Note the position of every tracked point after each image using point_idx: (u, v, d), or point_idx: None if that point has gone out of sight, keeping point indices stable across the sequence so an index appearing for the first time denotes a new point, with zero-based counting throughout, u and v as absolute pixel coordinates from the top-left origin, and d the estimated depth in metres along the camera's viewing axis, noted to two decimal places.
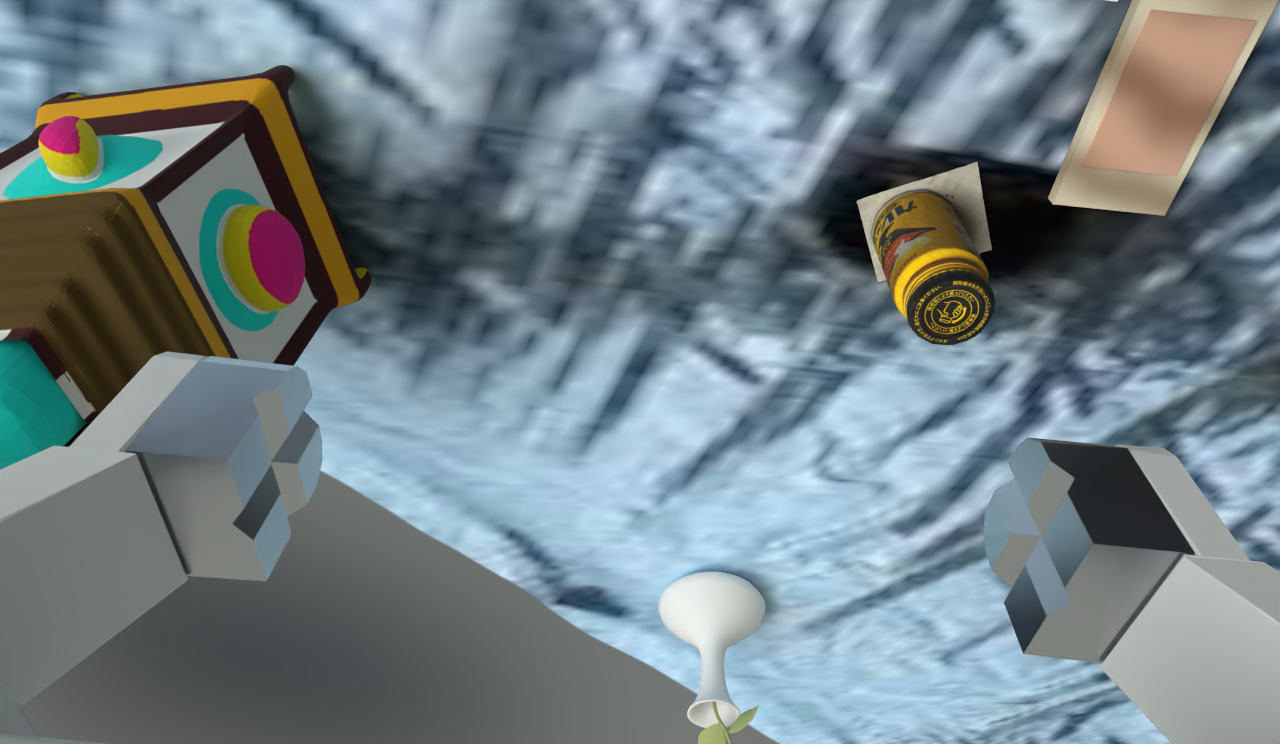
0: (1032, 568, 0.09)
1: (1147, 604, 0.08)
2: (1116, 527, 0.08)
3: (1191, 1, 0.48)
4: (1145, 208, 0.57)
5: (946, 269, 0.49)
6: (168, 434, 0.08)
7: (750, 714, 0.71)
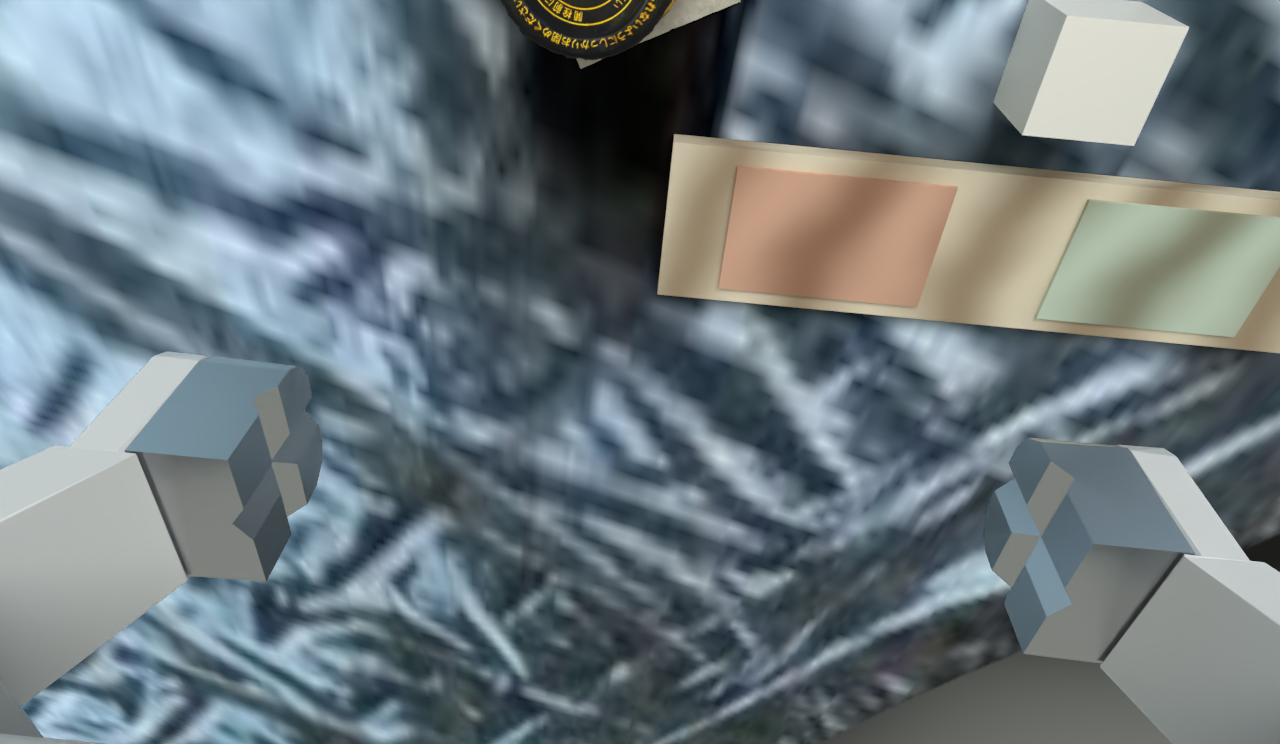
0: (1032, 568, 0.09)
1: (1147, 604, 0.08)
2: (1116, 527, 0.08)
3: (956, 231, 0.38)
4: (667, 268, 0.40)
5: None
6: (167, 435, 0.08)
7: None
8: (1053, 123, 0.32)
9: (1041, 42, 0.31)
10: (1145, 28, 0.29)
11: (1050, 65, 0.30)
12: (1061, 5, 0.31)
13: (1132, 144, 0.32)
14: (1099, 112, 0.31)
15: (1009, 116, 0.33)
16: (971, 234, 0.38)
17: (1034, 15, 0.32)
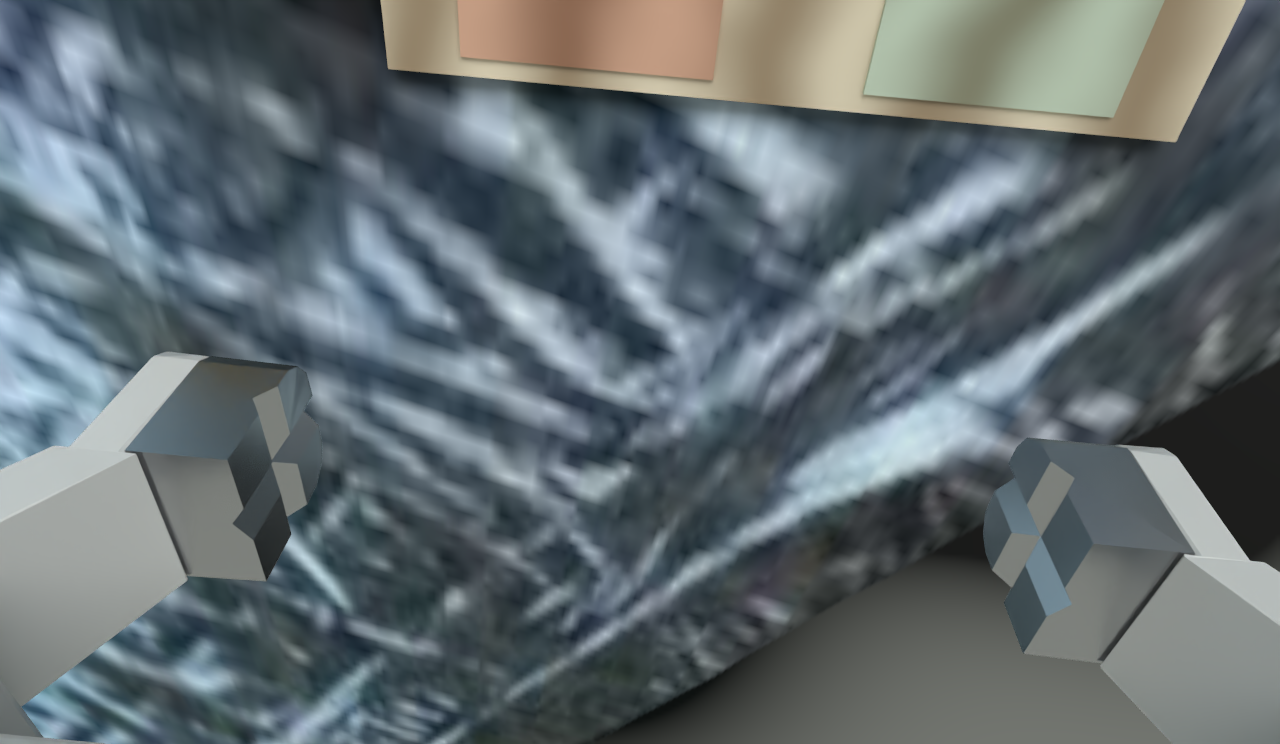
0: (1032, 568, 0.09)
1: (1147, 603, 0.08)
2: (1116, 527, 0.08)
3: None
4: (393, 29, 0.31)
5: None
6: (168, 435, 0.08)
7: None
8: None
9: None
10: None
11: None
12: None
13: None
14: None
15: None
16: None
17: None
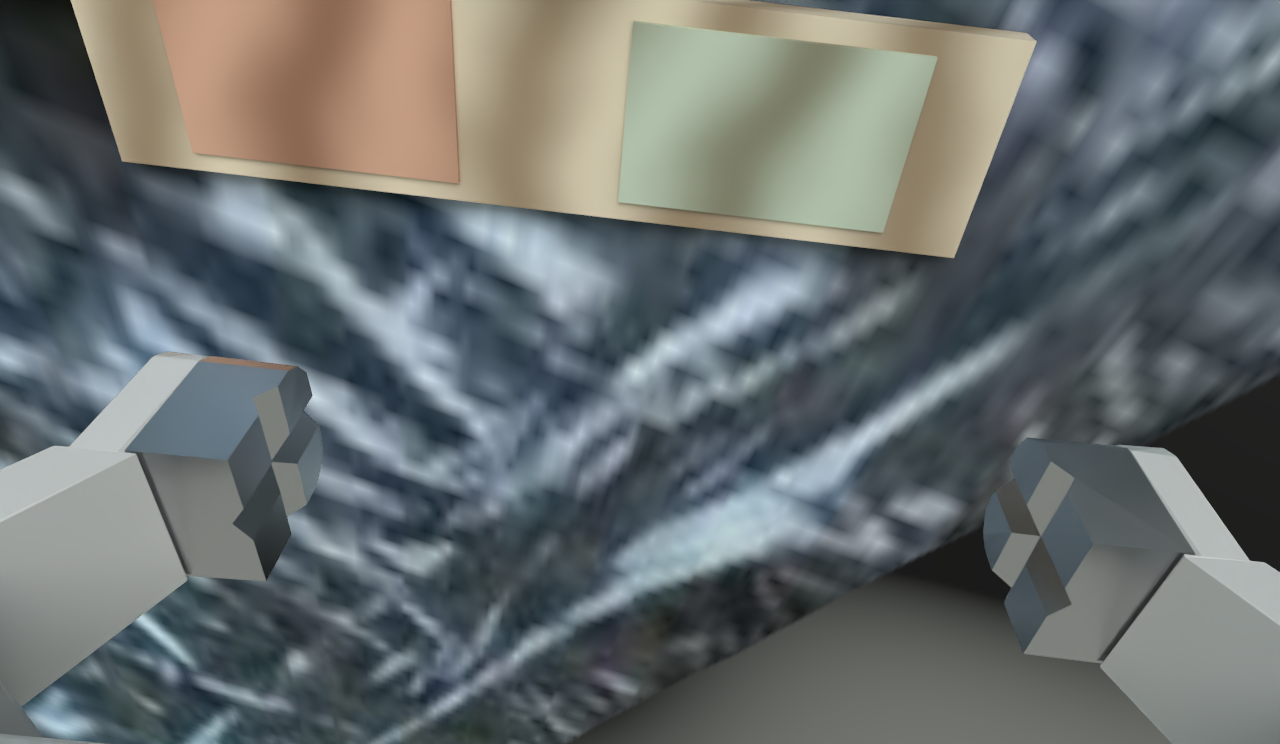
0: (1032, 568, 0.09)
1: (1148, 604, 0.08)
2: (1116, 527, 0.08)
3: (474, 69, 0.28)
4: (119, 122, 0.30)
5: None
6: (167, 435, 0.08)
7: None
8: None
9: None
10: None
11: None
12: None
13: None
14: None
15: None
16: (496, 75, 0.28)
17: None
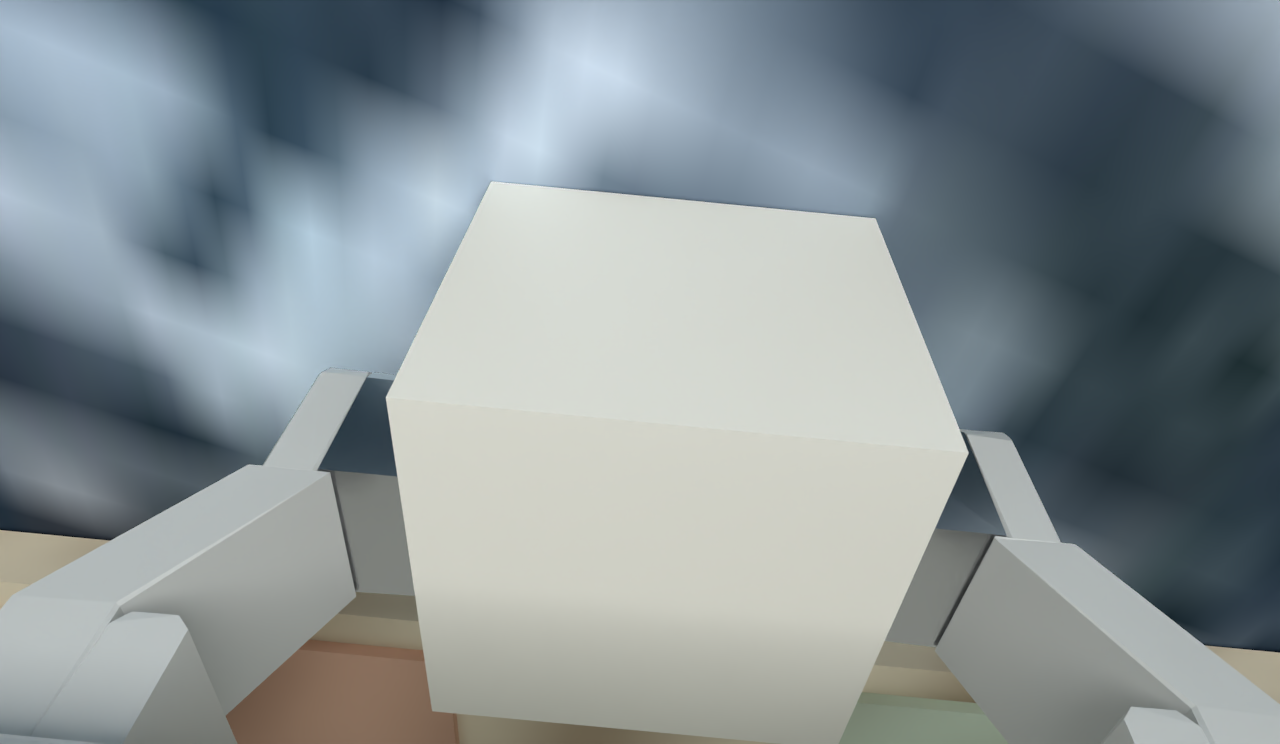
0: None
1: (968, 587, 0.08)
2: None
3: (494, 725, 0.15)
4: None
5: None
6: (356, 454, 0.08)
7: None
8: (523, 692, 0.09)
9: None
10: (765, 450, 0.06)
11: (415, 550, 0.07)
12: (485, 287, 0.07)
13: None
14: (679, 676, 0.08)
15: None
16: (535, 732, 0.15)
17: None
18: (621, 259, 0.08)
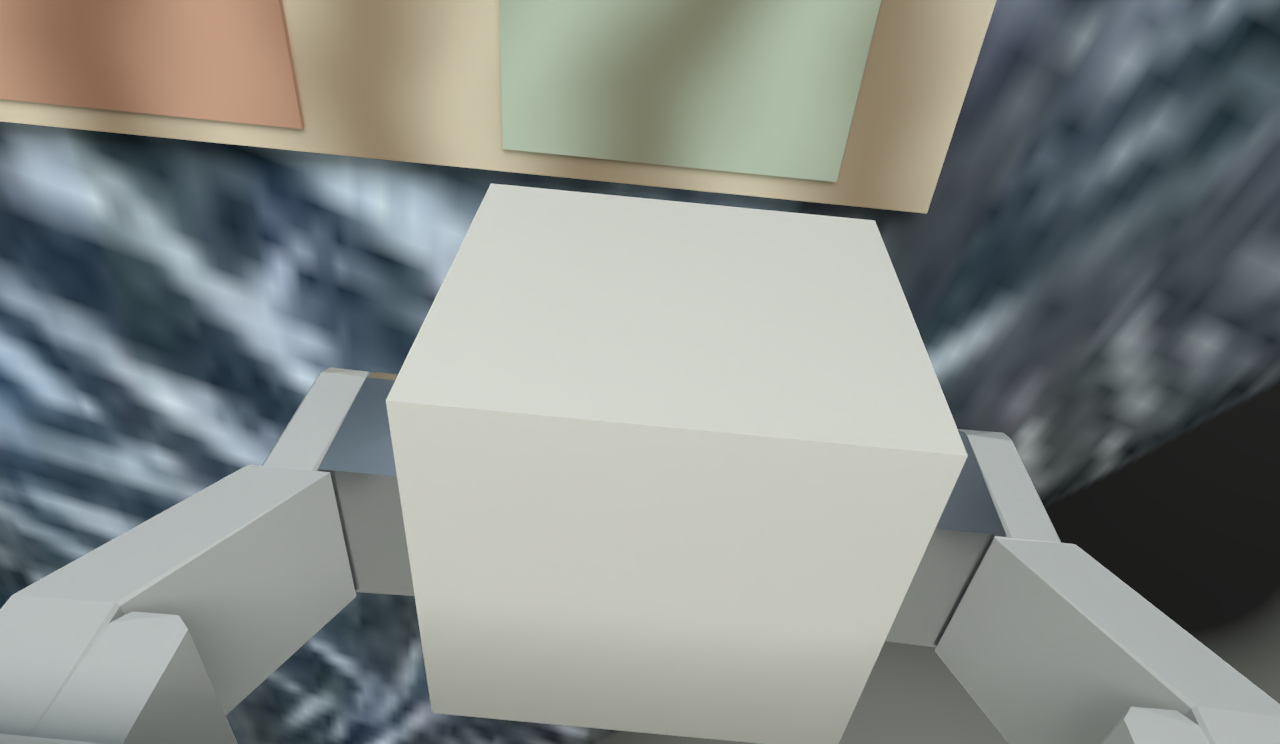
0: None
1: (968, 587, 0.08)
2: None
3: None
4: None
5: None
6: (356, 453, 0.08)
7: None
8: (523, 694, 0.09)
9: None
10: (764, 452, 0.06)
11: (414, 552, 0.07)
12: (485, 290, 0.07)
13: None
14: (678, 677, 0.08)
15: None
16: None
17: None
18: (621, 261, 0.08)
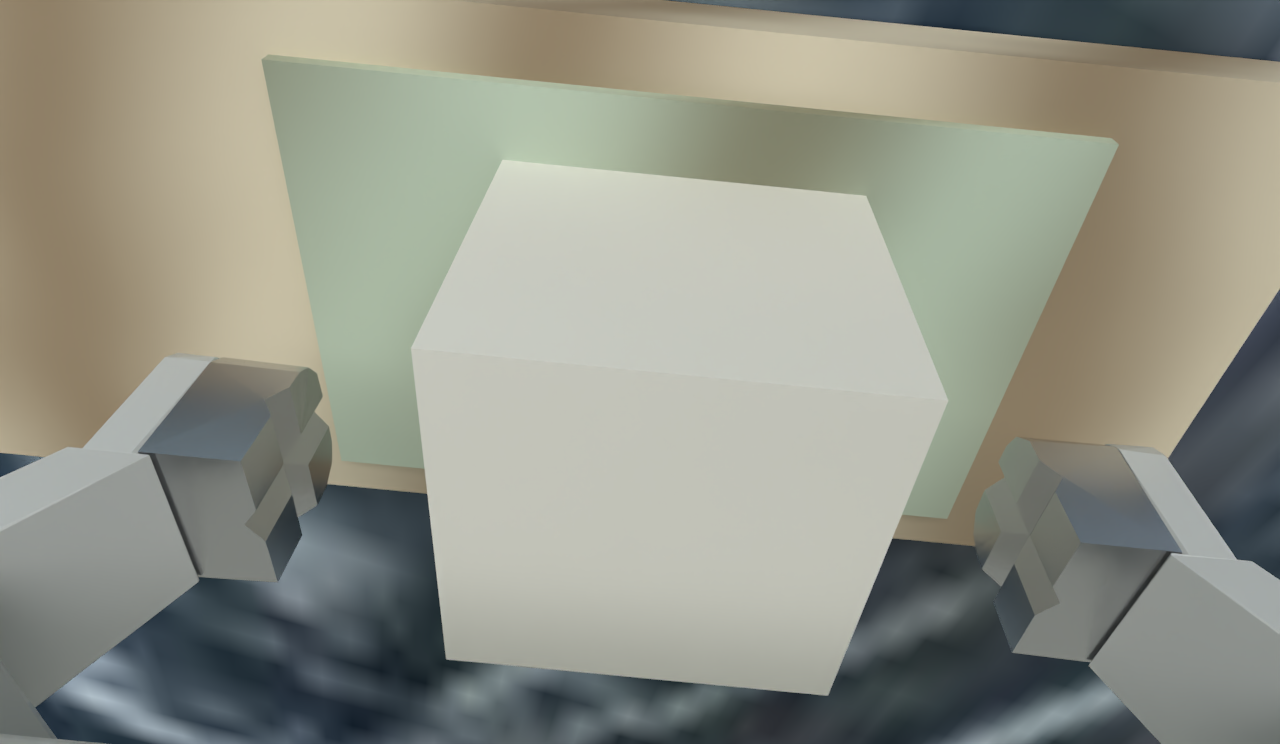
0: (1021, 567, 0.09)
1: (1134, 603, 0.08)
2: (1104, 526, 0.08)
3: None
4: None
5: None
6: (180, 437, 0.08)
7: None
8: (533, 639, 0.09)
9: None
10: (761, 398, 0.07)
11: (434, 497, 0.08)
12: (500, 254, 0.08)
13: (821, 692, 0.09)
14: (679, 622, 0.09)
15: None
16: None
17: None
18: (626, 230, 0.09)
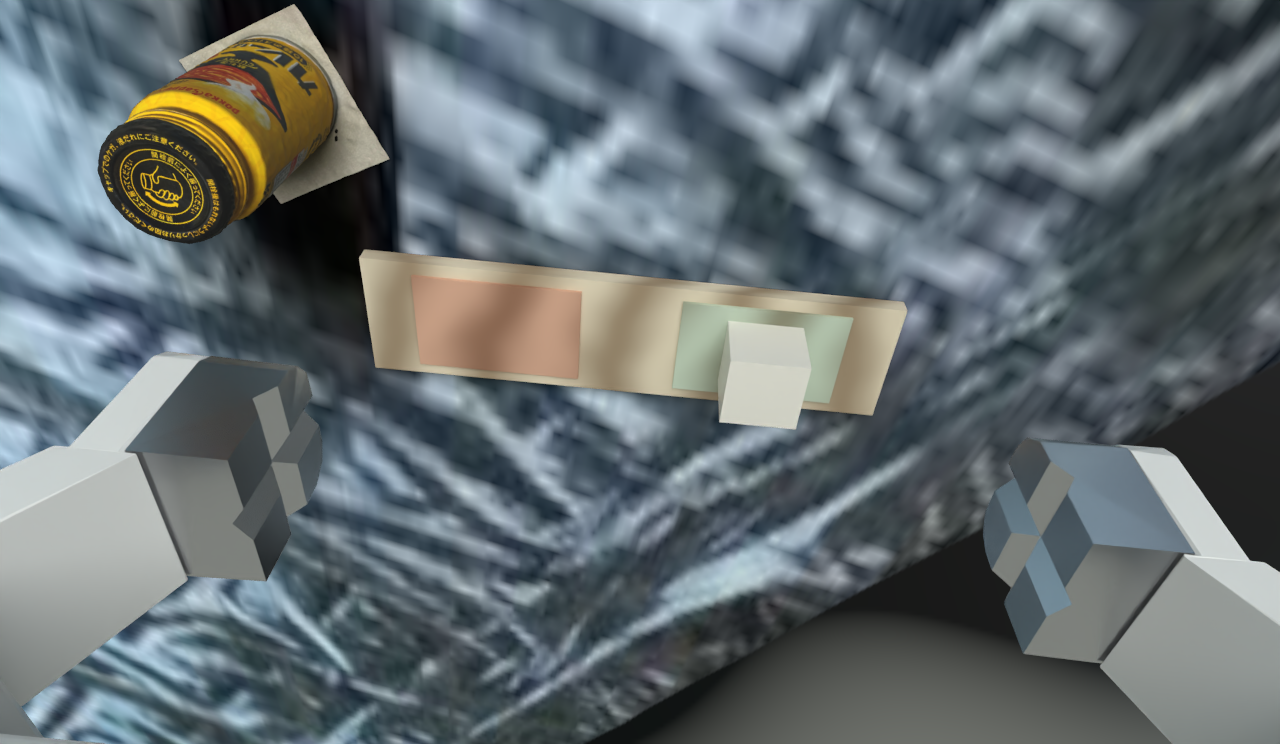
0: (1032, 568, 0.09)
1: (1146, 604, 0.08)
2: (1116, 527, 0.08)
3: (591, 323, 0.48)
4: (378, 348, 0.50)
5: (227, 164, 0.33)
6: (167, 434, 0.08)
7: None
8: (738, 416, 0.47)
9: (726, 365, 0.46)
10: (783, 368, 0.44)
11: (727, 385, 0.45)
12: (736, 343, 0.46)
13: (794, 428, 0.47)
14: (767, 411, 0.46)
15: None
16: (604, 325, 0.48)
17: (727, 341, 0.47)
18: (757, 338, 0.46)
